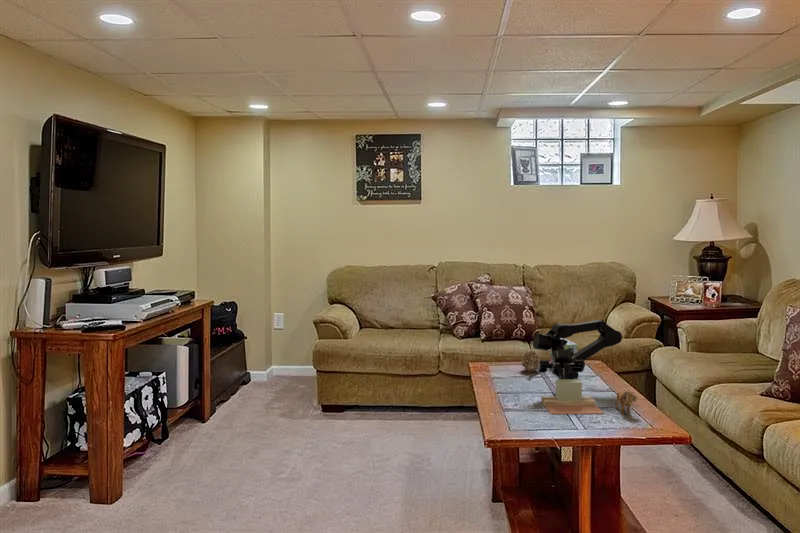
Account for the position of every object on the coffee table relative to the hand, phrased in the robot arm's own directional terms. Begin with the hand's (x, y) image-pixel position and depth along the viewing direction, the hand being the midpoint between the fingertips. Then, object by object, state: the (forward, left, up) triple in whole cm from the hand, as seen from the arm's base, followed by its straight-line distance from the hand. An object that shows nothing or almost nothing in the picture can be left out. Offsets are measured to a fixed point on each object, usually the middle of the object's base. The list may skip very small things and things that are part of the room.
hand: (564, 383), depth 249 cm
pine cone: (-47, -4, -7) cm, 48 cm away
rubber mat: (+14, 0, -7) cm, 16 cm away
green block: (+6, 0, -5) cm, 8 cm away
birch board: (+5, 0, -7) cm, 9 cm away
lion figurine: (+15, +19, -7) cm, 25 cm away
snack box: (-53, +13, -7) cm, 55 cm away
